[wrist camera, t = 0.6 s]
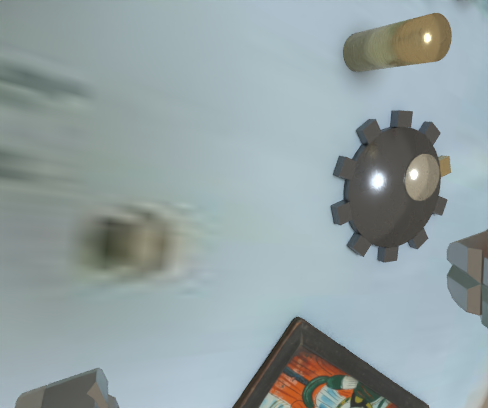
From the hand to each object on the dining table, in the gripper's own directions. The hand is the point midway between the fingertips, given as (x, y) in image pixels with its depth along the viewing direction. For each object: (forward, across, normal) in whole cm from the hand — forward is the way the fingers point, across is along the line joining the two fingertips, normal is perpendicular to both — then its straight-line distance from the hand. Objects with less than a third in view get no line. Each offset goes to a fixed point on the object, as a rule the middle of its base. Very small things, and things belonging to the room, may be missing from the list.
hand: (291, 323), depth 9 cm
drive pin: (+40, -25, 0) cm, 48 cm away
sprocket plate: (+39, -28, +18) cm, 51 cm away
